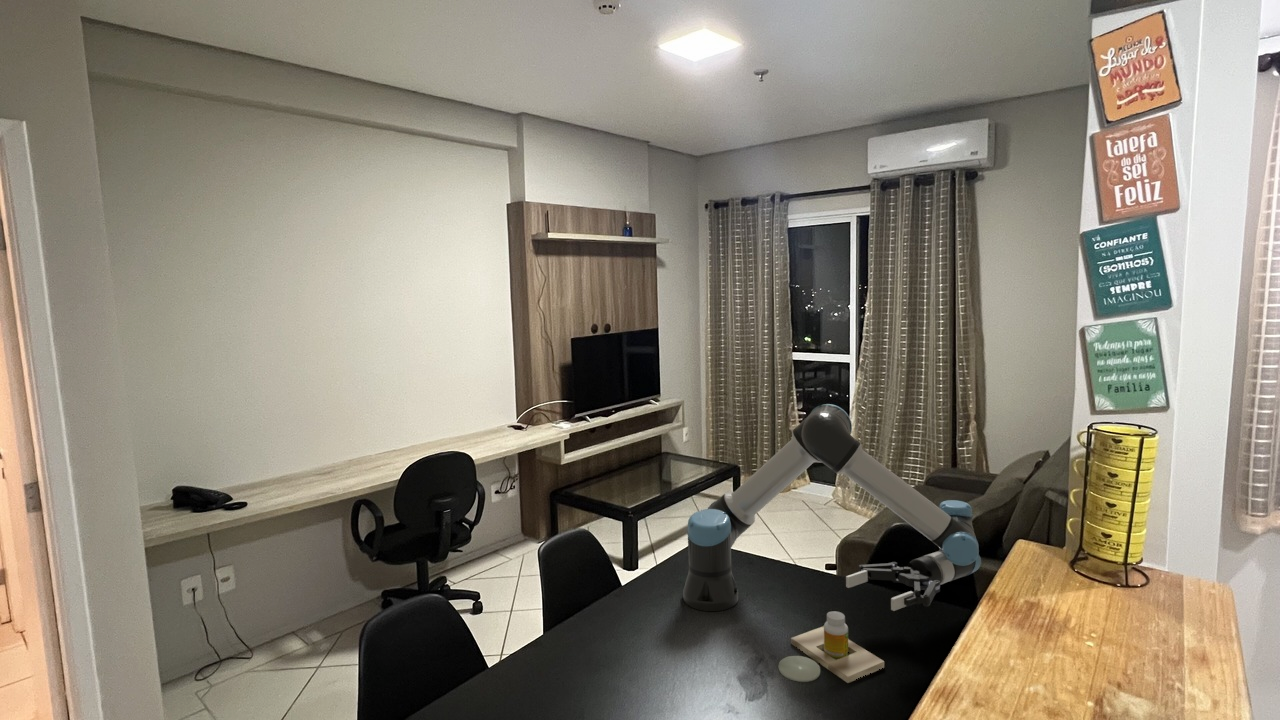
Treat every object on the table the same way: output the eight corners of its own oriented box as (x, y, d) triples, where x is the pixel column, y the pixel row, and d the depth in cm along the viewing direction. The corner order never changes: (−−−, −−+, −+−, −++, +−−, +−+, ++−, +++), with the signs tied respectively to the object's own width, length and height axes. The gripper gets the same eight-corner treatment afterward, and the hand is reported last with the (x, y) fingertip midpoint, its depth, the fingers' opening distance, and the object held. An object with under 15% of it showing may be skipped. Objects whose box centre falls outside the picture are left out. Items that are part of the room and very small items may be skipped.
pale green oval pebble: (770, 665, 145) (770, 663, 144) (800, 654, 149) (800, 651, 149) (797, 686, 137) (797, 684, 137) (829, 673, 141) (829, 671, 141)
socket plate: (791, 643, 153) (791, 637, 153) (825, 631, 158) (825, 625, 158) (847, 683, 137) (847, 676, 137) (884, 667, 142) (884, 661, 142)
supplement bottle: (849, 663, 145) (849, 622, 144) (824, 661, 146) (824, 620, 145) (846, 649, 150) (846, 610, 149) (823, 648, 151) (822, 608, 150)
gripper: (976, 605, 150) (913, 631, 140) (889, 567, 172) (830, 588, 162) (976, 574, 149) (913, 598, 139) (889, 540, 171) (830, 559, 161)
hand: (868, 593), depth 151 cm, fingers open, 13 cm apart
